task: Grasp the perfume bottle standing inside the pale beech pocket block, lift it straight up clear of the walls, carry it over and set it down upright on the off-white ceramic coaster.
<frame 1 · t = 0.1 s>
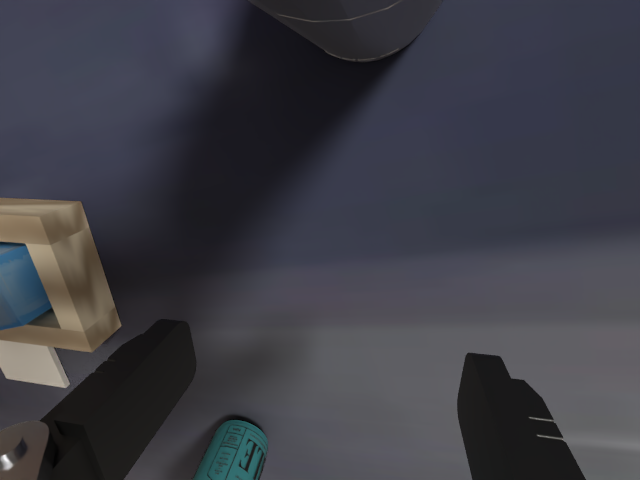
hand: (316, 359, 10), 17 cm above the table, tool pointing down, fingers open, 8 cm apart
coaster: (26, 352, 41), on the table
beverage bottle: (249, 424, 39), on the table
perfume bottle: (45, 262, 34), resting in pocket block
pocket block: (43, 264, 34), on the table
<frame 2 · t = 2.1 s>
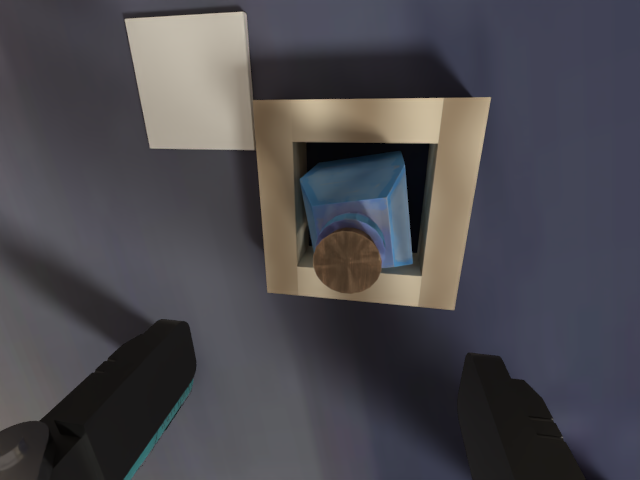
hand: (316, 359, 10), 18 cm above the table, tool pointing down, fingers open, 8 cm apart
coaster: (196, 87, 25), on the table
beverage bottle: (177, 362, 37), on the table
perfume bottle: (363, 195, 26), resting in pocket block
pocket block: (363, 196, 26), on the table
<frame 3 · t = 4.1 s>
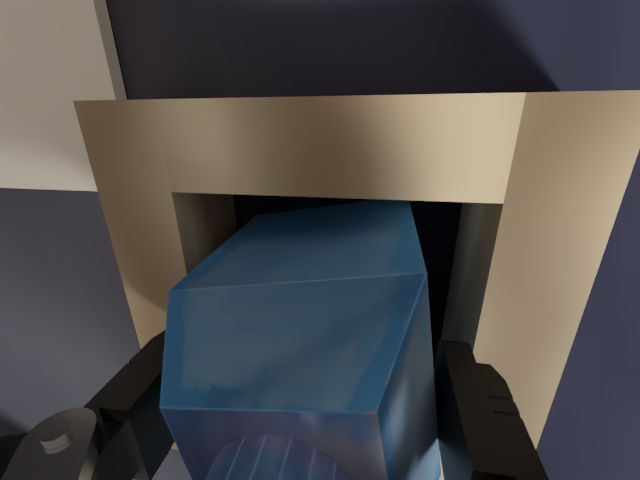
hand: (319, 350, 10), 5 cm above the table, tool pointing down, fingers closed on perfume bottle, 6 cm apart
coaster: (23, 77, 13), on the table
perfume bottle: (340, 272, 14), resting in pocket block, touching gripper
pocket block: (339, 275, 14), on the table
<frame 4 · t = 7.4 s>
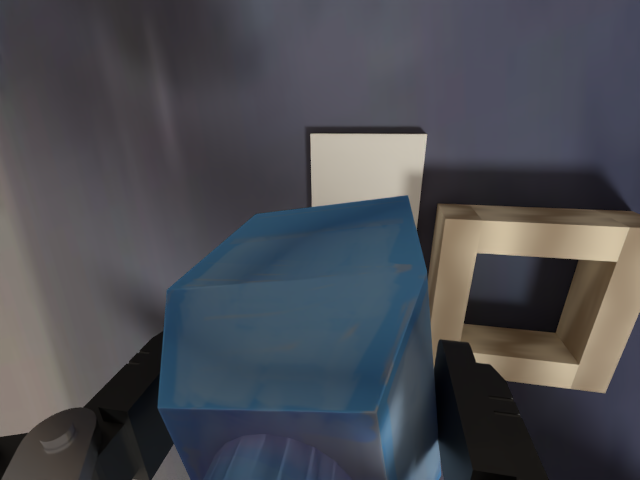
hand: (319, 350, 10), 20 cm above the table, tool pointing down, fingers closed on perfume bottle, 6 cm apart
coaster: (364, 189, 28), on the table
perfume bottle: (340, 271, 14), point 15 cm above the table, touching gripper
pocket block: (511, 284, 29), on the table
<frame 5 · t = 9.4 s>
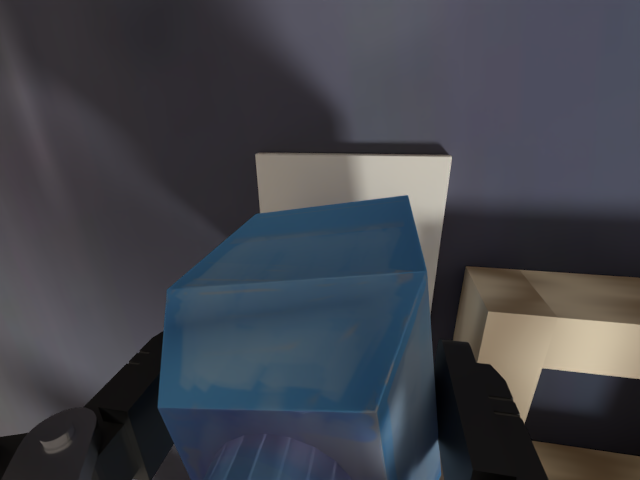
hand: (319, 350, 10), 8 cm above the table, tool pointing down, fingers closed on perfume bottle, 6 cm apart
coaster: (348, 241, 17), on the table
perfume bottle: (340, 271, 14), point 3 cm above the table, touching gripper
pocket block: (580, 388, 18), on the table
when the fingers open (7 cm above the table, at t = 10.7 s): perfume bottle drops 2 cm, resting on coaster.
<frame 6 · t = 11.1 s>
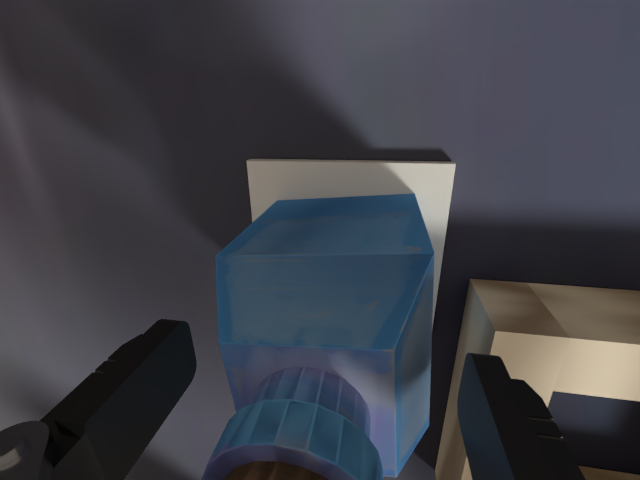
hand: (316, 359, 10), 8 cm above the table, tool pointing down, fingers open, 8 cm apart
coaster: (345, 251, 16), on the table
perfume bottle: (348, 257, 16), resting on coaster
pocket block: (590, 406, 17), on the table
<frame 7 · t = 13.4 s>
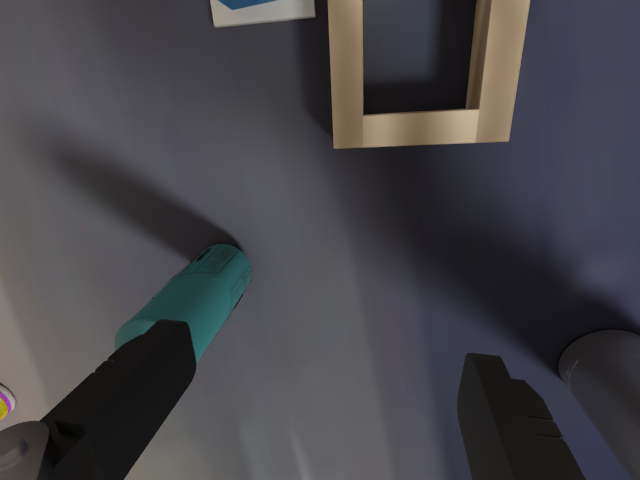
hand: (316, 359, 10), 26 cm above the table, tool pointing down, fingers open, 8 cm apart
beverage bottle: (232, 261, 39), on the table
pocket block: (416, 55, 28), on the table
supplement bottle: (0, 393, 55), on the table
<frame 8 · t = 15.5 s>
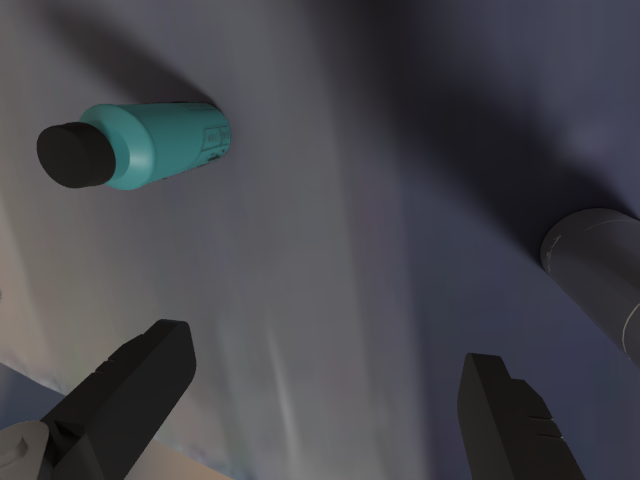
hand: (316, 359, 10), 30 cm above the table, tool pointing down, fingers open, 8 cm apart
beverage bottle: (213, 132, 39), on the table
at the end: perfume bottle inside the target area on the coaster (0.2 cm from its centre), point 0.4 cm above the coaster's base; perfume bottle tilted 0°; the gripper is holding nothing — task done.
